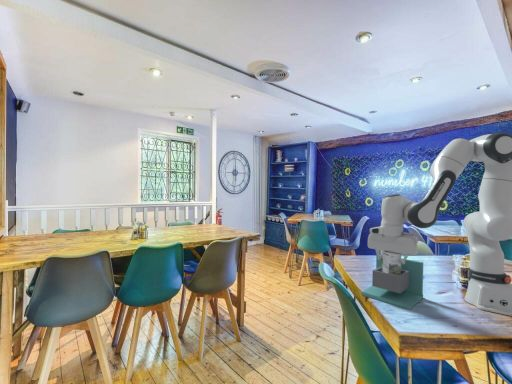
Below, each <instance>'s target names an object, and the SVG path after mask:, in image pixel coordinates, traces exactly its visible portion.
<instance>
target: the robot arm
mask: <svg viewBox="0 0 512 384" xmlns="http://www.w3.org/2000/svg"><path fill="white" fill-rule="evenodd" d="M479 162H480V163H481V162H482V163H483V164H484V173H483V175H482V180H481V182H480V187H479V191H478V194H477V198H478V203H479V211H474V212H471V213H468V214H467V215H466V216H465V217H464V219H463V226H464V228H465V231H466V236H467V241H468V246H469V267H468V270H467V280H468V284H467V288H466V289H467V290H466V293H465V296H464V298H463V299H464V301H466V302H467V303H468V304H471V305H472V306H475V307H476V308H478V309H479V310H482V311H486V312H492V313H497V314H502V315H506V316H510V317H512V284H511V282H512V278H511V276H510V274H507V273H506V272H505V254H504V251H503V250H502V247H501V244H500V241H502V242H503V241H507V240H510V239H511V238H512V134H510V133H506V132H495V133H490V134H489V133H488V134H483V135H480V136H477V137H473V138H470V139H465V138H460V137H459V138H455V139H453V140H451V141H450V142H449V143H447V145H446V146H445V147H444V148H443V149H442V150H441V151H440V152H439V154H437V156H436V158H435V159H434V160H433V162H432V164H431V167H430V169H429V173H430V176H431V178H433V183H432V185H431V187H430V188H429V190H428V192H427V193H426V195H425V197H424V198H423V199H422V200H420V201H419V202H416V201H413V200H410V199H409V198H406V197H405V196H403V195H402V194H400V193H399V194H397V193H395V194H389V195H386V196H384V197H383V198H382V202H381V208H380V209H381V210H380V212H381V213H380V214H381V222H380V226H375V227H371V228H369V234H368V236H367V247H368V249H373V250H375V254H377V255H378V259H379V260H382V253H381V251H389V252H395V253H400V254H401V255H402V257H403V258H402V259H401V260H400V264H405V260H406V259H408V257H409V256H416V255H417V254H418V253H419V249H418V248H419V247H418V242H419V237H418V235H417V234H415V233H413V232H405V231H404V223H408V224H409V225H413V226H414V227H416V228H419V229H427V228H430V227H432V226H434V225H435V224H436V223H437V220H438V217H439V212H440V209H441V207H442V205H443V203H444V202H445V200H446V199H447V197H448V195H449V194H450V192H451V191H452V189H453V187H454V185H455V183H456V181H457V180H458V179H459V177H460V175H462V173H463V171H464V170H465V169H466V167H467V165H468V164H469V163H479Z"/></svg>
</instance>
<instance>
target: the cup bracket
mask: <svg viewBox="0 0 512 384" xmlns="http://www.w3.org/2000/svg"><path fill="white" fill-rule="evenodd" d="M375 254H376V255H375V256H376V260H375V261H376V262H375V263H376V264H375V265H376V266H375V269H374V268H373V270H372V274H371V275H372V279H371V280H372V283H371V286H369V287H366V288H365V289H364V290H362V291H361V296H364V297H367V298H371V299H374V300H377V301H380V302H383V303H387V304H390V305H393V306H397V307H398V308H399V307H400V308H404V309H407V310H410V311H411V310H412V309H413V308H414V307H415V306H416V305H417V304H419V302H420V301H421V300H422V299H423V298H424V262H423V261H418V260H413V259H412V260H411V259H408V258H407V259H406V260H405V264H401V275H399V276H398V275H394V274H389V273H385V272H382V260H379V259H378V255H377V253H375ZM401 259H403V258H402V257H401Z"/></svg>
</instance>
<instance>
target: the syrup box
mask: <svg viewBox="0 0 512 384" xmlns="http://www.w3.org/2000/svg"><path fill="white" fill-rule="evenodd" d="M381 255H382V272H385V273H389V274H394V275H398V276H399V275H401V264H400V260H401V258H402V254H401V253H395V252H389V251H383V250H381Z"/></svg>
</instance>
